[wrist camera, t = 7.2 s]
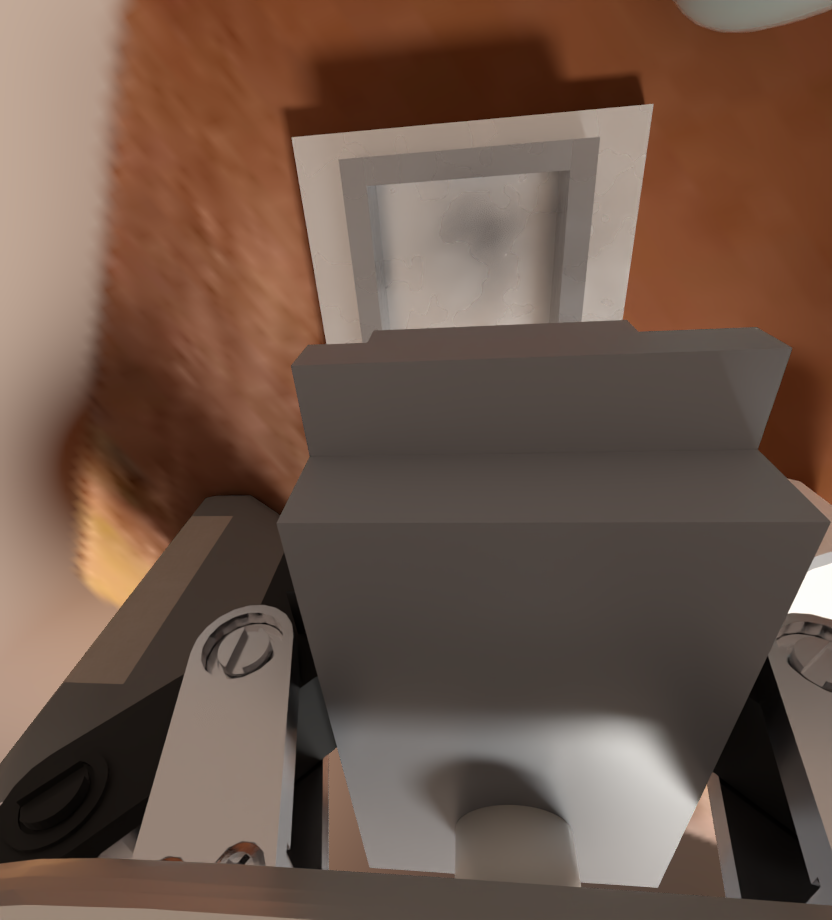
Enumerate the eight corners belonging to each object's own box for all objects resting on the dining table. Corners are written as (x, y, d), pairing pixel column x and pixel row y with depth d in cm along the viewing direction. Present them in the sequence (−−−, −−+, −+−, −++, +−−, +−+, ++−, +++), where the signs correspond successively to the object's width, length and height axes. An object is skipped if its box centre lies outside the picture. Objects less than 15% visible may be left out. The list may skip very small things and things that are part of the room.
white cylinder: (690, 553, 32) (740, 641, 27) (725, 465, 29) (792, 544, 23) (799, 560, 32) (875, 651, 26) (849, 471, 28) (950, 554, 22)
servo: (635, 257, 8) (1038, 488, 2) (577, 632, 13) (668, 1003, 7) (367, 272, 8) (183, 496, 3) (406, 628, 13) (366, 975, 8)
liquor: (166, 547, 36) (-537, 1457, 11) (225, 472, 32) (-675, 1643, 7) (270, 609, 39) (-101, 1462, 13) (336, 547, 35) (-15, 1600, 9)
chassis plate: (645, 106, 21) (676, 97, 18) (601, 426, 28) (617, 457, 25) (298, 138, 22) (272, 134, 19) (346, 432, 30) (332, 462, 27)
